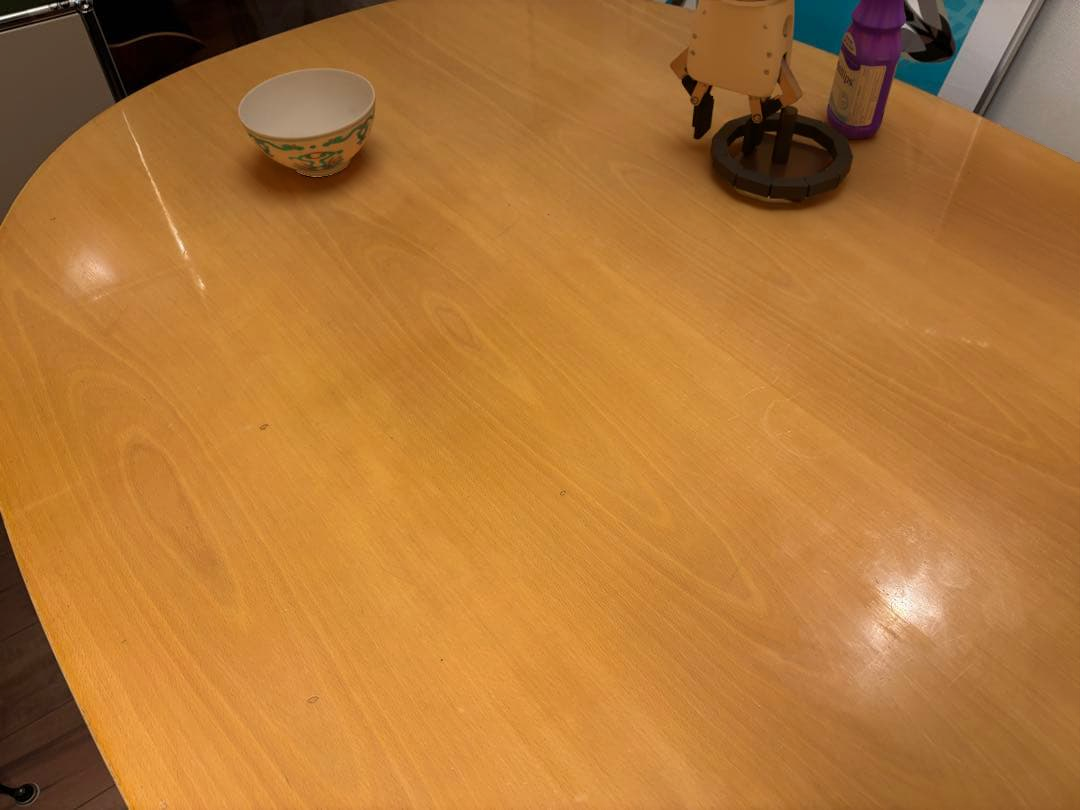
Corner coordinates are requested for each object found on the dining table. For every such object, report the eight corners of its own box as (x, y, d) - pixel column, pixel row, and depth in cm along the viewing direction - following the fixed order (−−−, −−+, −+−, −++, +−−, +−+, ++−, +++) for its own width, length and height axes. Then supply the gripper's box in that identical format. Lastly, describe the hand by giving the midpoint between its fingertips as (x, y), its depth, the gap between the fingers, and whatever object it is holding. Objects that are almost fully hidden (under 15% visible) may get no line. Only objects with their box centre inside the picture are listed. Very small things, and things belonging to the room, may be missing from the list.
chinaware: (237, 195, 98) (215, 133, 92) (284, 124, 108) (267, 65, 102) (365, 203, 96) (351, 141, 90) (400, 131, 106) (390, 70, 100)
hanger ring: (867, 146, 98) (870, 134, 96) (817, 214, 90) (821, 201, 88) (745, 112, 103) (747, 100, 102) (688, 173, 95) (689, 160, 94)
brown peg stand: (830, 163, 98) (846, 102, 93) (800, 203, 93) (814, 141, 88) (756, 141, 102) (767, 81, 96) (723, 179, 97) (732, 117, 91)
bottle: (817, 113, 106) (850, -37, 93) (863, 109, 106) (902, -42, 93) (837, 145, 101) (875, -9, 88) (885, 140, 101) (930, -13, 88)
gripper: (847, -21, 84) (810, 146, 98) (688, -54, 91) (673, 107, 104) (817, 9, 80) (783, 179, 93) (653, -28, 87) (643, 136, 100)
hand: (725, 139), depth 99 cm, fingers open, 5 cm apart
